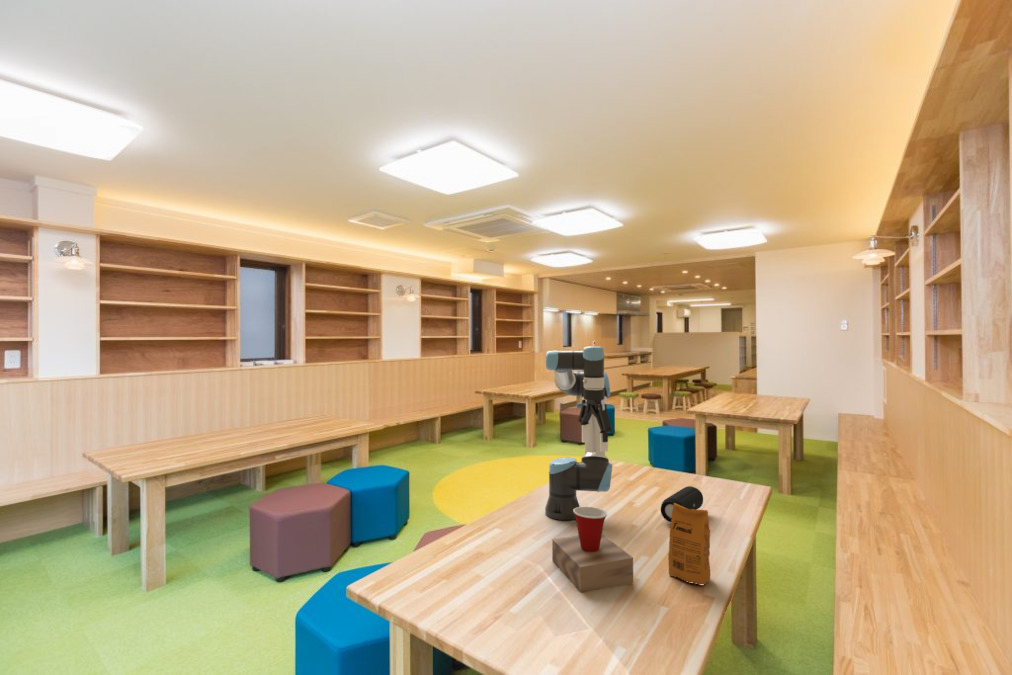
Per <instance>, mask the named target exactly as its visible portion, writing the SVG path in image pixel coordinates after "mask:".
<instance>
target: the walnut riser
mask: <svg viewBox="0 0 1012 675" xmlns="http://www.w3.org/2000/svg"><path fill="white" fill-rule="evenodd" d="M551 540H552V542H551V550H552V551H551V552H552V556H551V557H552V559H551V560H552V563H553V564H554V565H555V566H556V567H557V568H558V569H559V571H561V573H562V574H563V575H564V576H565V578H567V579H568V581H569V582H570V583H571V584H572V585H573V586H574V587H575V589H577V591H578V592H579V593H587V592H591V591H592V592H593V591H597V590H598V591H599V590H605V589H610V588H611V589H612V588H615V587H622V586H627V584H629V585H633V584H634V557H633V556H632V555H630V554H629V553H628V552H626V551H625V550H623V549H622V548H621V547H620V546H619V545H617V544H616V543H614V541H613V540H611V539H609V538H608V537H607V536H606V535H604V534H603V533H602V537H601V541H600V547H599V550H598V551H596V552H588V551H584V550H583V549H582V548H581V545H580V539H579V534H577V535H573V536H572V535H571V536H565V537H560V538H558V537H557V538H552V539H551ZM632 583H633V584H632Z"/></svg>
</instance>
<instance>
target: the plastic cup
mask: <svg viewBox="0 0 1012 675" xmlns="http://www.w3.org/2000/svg"><path fill="white" fill-rule="evenodd" d="M573 511H574V513H575V518H576V519H575V521H576V527H577V533H578V534H577V535H579V539H580V545H581V548H582V549H583V550H584V551H588V552H596V551H598V550H599V547H600V541H601V537H602V534H603V531H604V530H603V529H604V525H605V520H606V517H607V516H608V512H607V511H606V510H604V509H601V508H599V507H593V506H580V507H577V508H575V509H573Z"/></svg>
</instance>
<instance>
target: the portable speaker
mask: <svg viewBox="0 0 1012 675" xmlns="http://www.w3.org/2000/svg"><path fill="white" fill-rule="evenodd" d="M674 503H676V504H678V505H680V506H683V507H685V508H687V509H694V510H699V509H700V508H701V507H703V503H704V496H703V493H702V492H701V490H700V489H698V488H696V487H694V486H691V485H690V486H688V485H687V486H685V487H683V488H682V489H680V490H678V491H676V492H675V493H673V494H672V495H670V496H669V497H667V498H665V499H664V500H663V501H662V502H661V506H660V514H661V516H662V518H663V519H664V520H665V521H666V522H669V523H671V520H672V510H673V505H674Z"/></svg>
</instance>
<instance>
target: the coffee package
mask: <svg viewBox="0 0 1012 675" xmlns="http://www.w3.org/2000/svg"><path fill="white" fill-rule="evenodd" d="M709 521H710V520H709V512H708V510H707V509H697V510H694V509H687V508H685V507H683V506H680V505H678V504H676V503H674V505H673V510H672V520H671V522H670V529H669V542H668V543H669V544H668V557H667V560H668V563H667V564H668V575H671V576H674V577H673V578H676V577H678V579H680V578H681V579H680V580H682V579H683V580H685V581H688V582H693V583H697V584H705V583H706V582H707V583H708V581H710V578H711V566H710V554H711V553H710V551H711V550H710V547H711V545H710V544H711V542H710V541H711V529H710V522H709ZM671 576H670V577H671ZM683 580H682V581H683ZM685 581H684V582H685ZM705 585H706V584H705Z"/></svg>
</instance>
